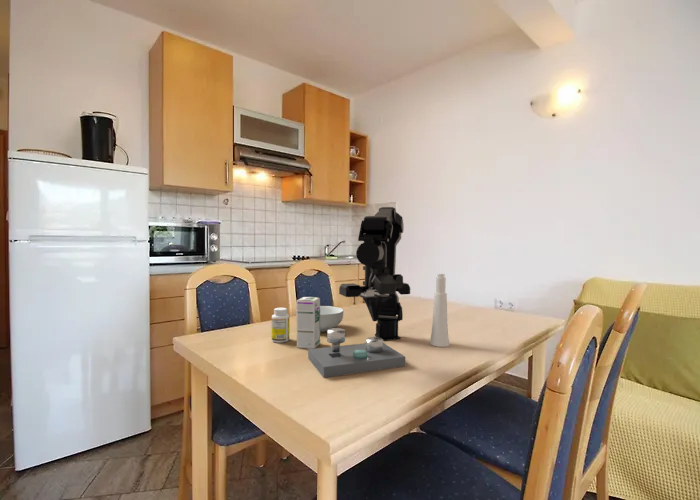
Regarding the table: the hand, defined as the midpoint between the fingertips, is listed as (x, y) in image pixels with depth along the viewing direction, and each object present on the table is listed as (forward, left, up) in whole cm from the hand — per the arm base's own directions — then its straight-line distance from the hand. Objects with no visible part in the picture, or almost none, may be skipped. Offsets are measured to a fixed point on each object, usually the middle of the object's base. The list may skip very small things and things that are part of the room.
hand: (374, 321), depth 94 cm
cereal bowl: (+4, -36, -11) cm, 38 cm away
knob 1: (+11, 0, -8) cm, 14 cm away
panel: (+5, 0, -11) cm, 12 cm away
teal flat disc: (+5, +3, -8) cm, 10 cm away
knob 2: (0, 0, -12) cm, 12 cm away
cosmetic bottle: (-26, -6, -11) cm, 28 cm away
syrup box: (+13, -18, -11) cm, 25 cm away
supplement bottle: (+20, -26, -11) cm, 35 cm away
